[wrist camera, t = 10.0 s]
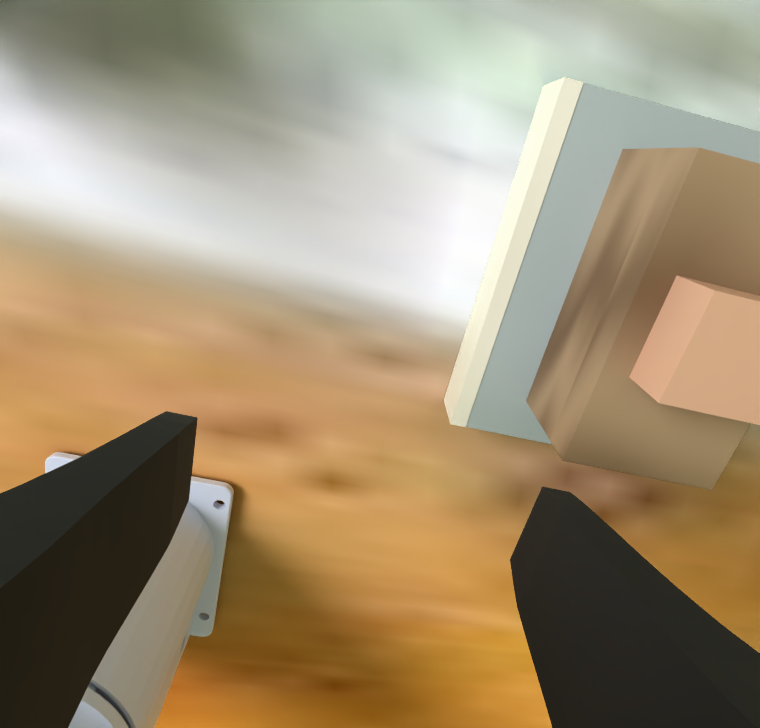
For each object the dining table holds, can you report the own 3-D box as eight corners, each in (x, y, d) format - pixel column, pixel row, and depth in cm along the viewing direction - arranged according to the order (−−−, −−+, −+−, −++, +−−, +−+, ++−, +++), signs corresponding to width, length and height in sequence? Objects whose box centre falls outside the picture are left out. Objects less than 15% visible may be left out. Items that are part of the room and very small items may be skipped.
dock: (661, 445, 22) (687, 472, 20) (443, 400, 21) (450, 424, 19) (810, 159, 18) (862, 160, 16) (543, 85, 17) (564, 77, 15)
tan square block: (724, 398, 15) (764, 426, 13) (629, 377, 14) (658, 402, 13) (779, 300, 13) (829, 318, 12) (676, 275, 13) (715, 290, 12)
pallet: (647, 426, 19) (711, 490, 16) (525, 401, 19) (562, 460, 15) (767, 187, 16) (883, 197, 12) (622, 148, 16) (699, 147, 12)
